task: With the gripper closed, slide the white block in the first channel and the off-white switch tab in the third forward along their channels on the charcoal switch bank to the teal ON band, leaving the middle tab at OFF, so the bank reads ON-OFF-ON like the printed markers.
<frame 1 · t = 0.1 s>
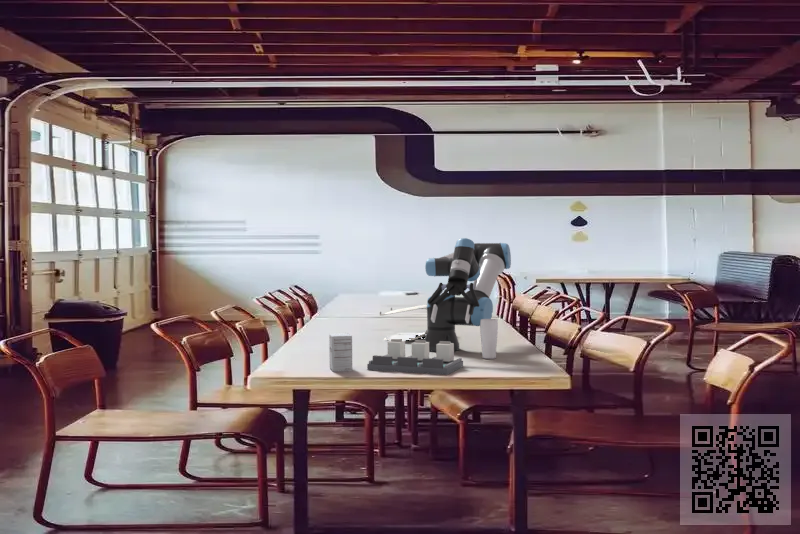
hand: (449, 321, 283), 15 cm above the table, tool tilted 35°, fingers open, 13 cm apart
portable electronic device stand: (410, 338, 353), on the table
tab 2: (420, 349, 274), point 6 cm above the table, slide at 0.0 cm
drinking glass: (489, 358, 291), on the table
switch bank: (415, 367, 270), on the table
white block 1: (396, 348, 278), point 6 cm above the table, slide at 0.0 cm
supplement box: (340, 370, 268), on the table
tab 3: (445, 350, 271), point 6 cm above the table, slide at 0.0 cm
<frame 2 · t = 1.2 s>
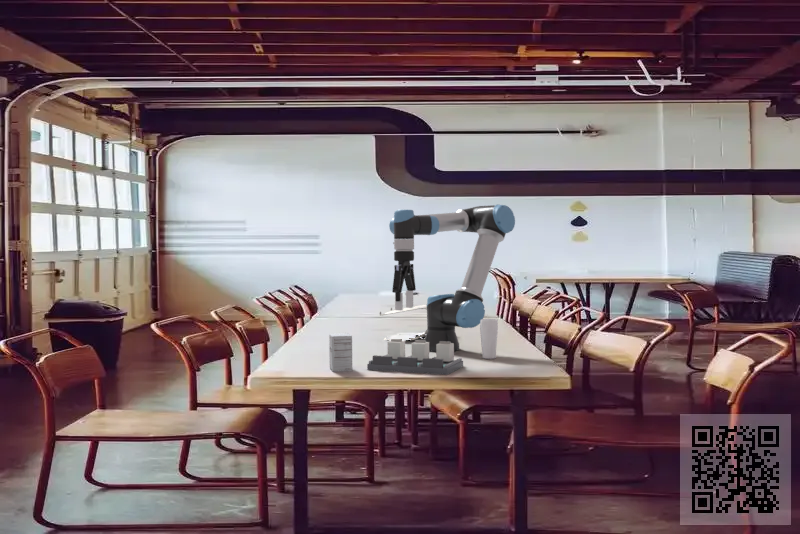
hand: (404, 308, 285), 20 cm above the table, tool pointing down, fingers open, 10 cm apart
nothing on the table moved.
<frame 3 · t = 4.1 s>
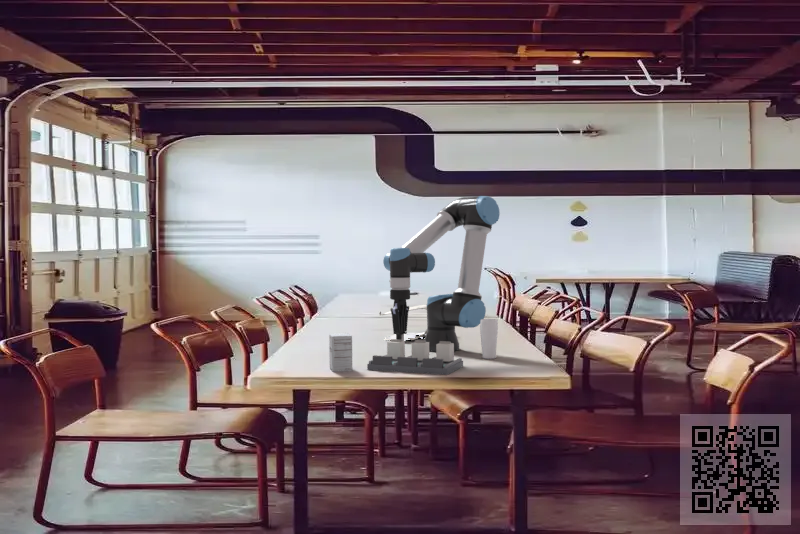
hand: (400, 351, 282), 4 cm above the table, tool pointing down, fingers closed
white block 1: (396, 348, 278), point 6 cm above the table, slide at 0.4 cm, touching gripper
everything else where it was.
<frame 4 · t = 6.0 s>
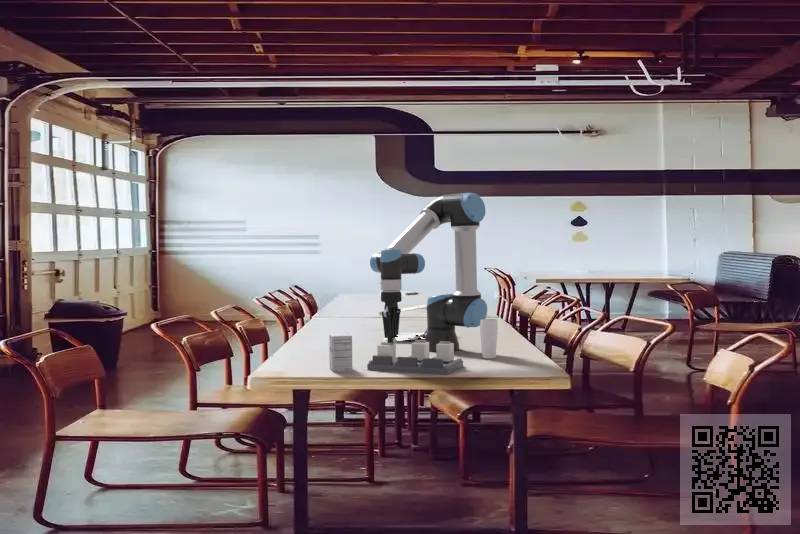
hand: (391, 355, 274), 4 cm above the table, tool pointing down, fingers closed
white block 1: (386, 352, 269), point 6 cm above the table, slide at 9.2 cm, touching gripper
everything else where it was.
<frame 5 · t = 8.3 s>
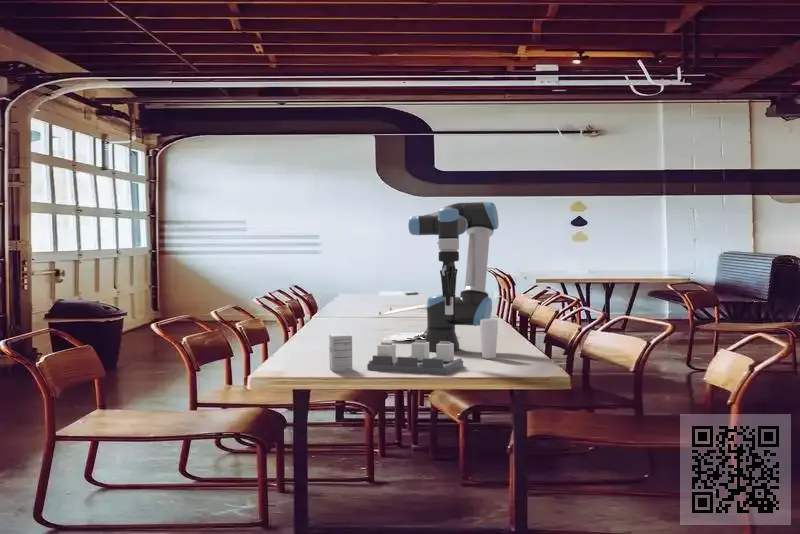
hand: (449, 314, 278), 18 cm above the table, tool pointing down, fingers closed
white block 1: (386, 352, 269), point 6 cm above the table, slide at 9.2 cm
everything else where it was.
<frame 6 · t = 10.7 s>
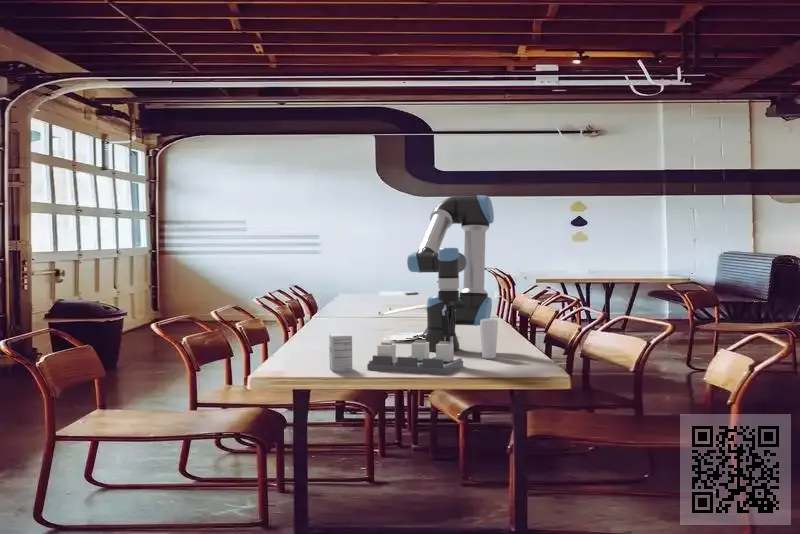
hand: (448, 354, 275), 4 cm above the table, tool pointing down, fingers closed
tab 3: (444, 351, 270), point 6 cm above the table, slide at 0.4 cm, touching gripper
everything else where it was.
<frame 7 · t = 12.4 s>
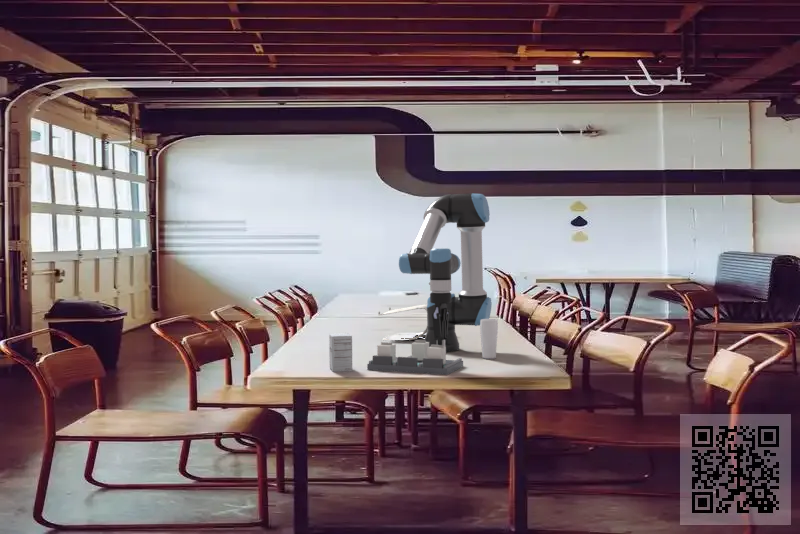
hand: (441, 358, 267), 4 cm above the table, tool pointing down, fingers closed
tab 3: (436, 354, 262), point 6 cm above the table, slide at 9.2 cm, touching gripper
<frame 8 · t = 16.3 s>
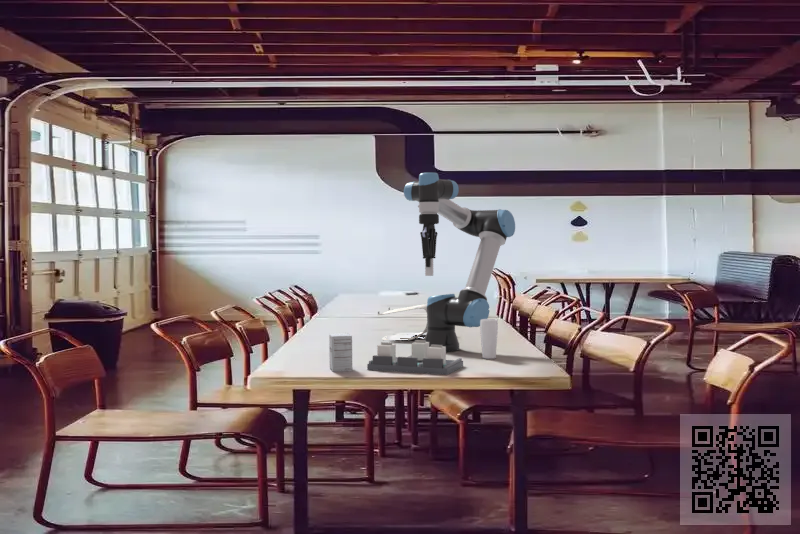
hand: (429, 275, 286), 32 cm above the table, tool pointing down, fingers closed
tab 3: (436, 354, 262), point 6 cm above the table, slide at 9.2 cm
at the end: white block 1 slide at 9.2 cm; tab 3 slide at 9.2 cm; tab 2 slide at 0.0 cm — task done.
